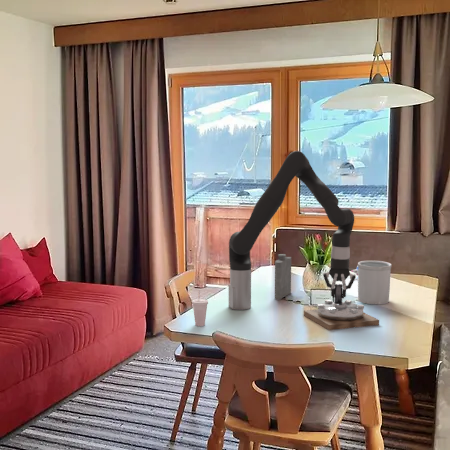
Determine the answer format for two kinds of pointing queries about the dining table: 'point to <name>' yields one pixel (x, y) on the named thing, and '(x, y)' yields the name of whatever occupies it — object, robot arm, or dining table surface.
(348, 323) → the brown wooden board
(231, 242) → the robot arm
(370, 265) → the utensil holder
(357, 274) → the blue toy figure
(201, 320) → the smoothie
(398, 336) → the dining table surface
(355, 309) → the silver round piece
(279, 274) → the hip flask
